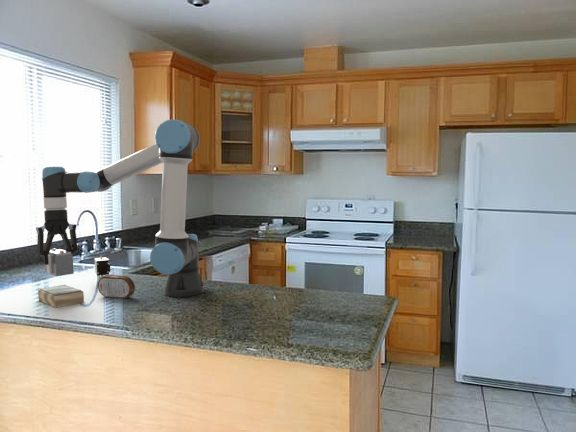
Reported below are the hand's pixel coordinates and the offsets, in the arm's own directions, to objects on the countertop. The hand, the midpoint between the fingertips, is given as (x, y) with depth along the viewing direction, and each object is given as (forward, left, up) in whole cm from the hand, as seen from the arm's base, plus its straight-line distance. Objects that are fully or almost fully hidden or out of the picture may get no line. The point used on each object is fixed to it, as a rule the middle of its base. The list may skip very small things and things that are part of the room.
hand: (59, 271), depth 177 cm
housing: (0, 0, 0) cm, 0 cm away
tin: (-11, -16, -11) cm, 23 cm away
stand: (0, 0, -11) cm, 11 cm away
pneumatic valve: (+16, -24, -11) cm, 31 cm away
